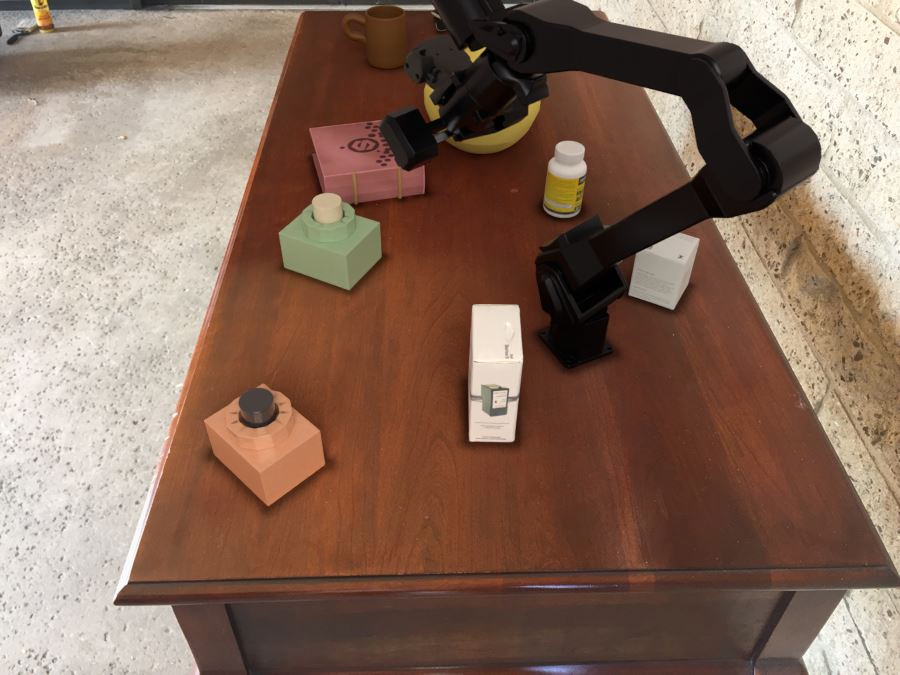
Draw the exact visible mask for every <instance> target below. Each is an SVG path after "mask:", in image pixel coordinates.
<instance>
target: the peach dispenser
mask: <svg viewBox="0 0 900 675" xmlns="http://www.w3.org/2000/svg"><path fill="white" fill-rule="evenodd" d="M255 388H264V389H267V390H269V391H270V392H271V393H272V394H273V397H274V402H275V407H276V413H277V414H276V417H275V419H274V421H273V422H272V423H270V424H269V425H267V426H265V427H261V428H252V427H249V426H247V425H246V424H245V423H244V422H243V420H242V416H241V412H240V408H239V404H238V402H239V398H240V397H241V395H240V396H238V397H237V398H235V399H233V400H232V401H231V403H229V404H228V405H226V406H224V407H223V408H221V409H220V410H218V411H216V412H215V413H213V414H211V415H209V416H208V417H207V418H205V419H204V420H203V422H204V426H205V429H206V433H207V435H208V439H209V443H210V445H211V446H210V447H211V450H212V452H213V455H214V456H215V457H216V458H217V459H218V460H219V461H220V462H221V463H222V464H223V465H224V466H225V467H226V468H227V469H228V470H230V471H231V473H232V474H234V475H235V477H237V478H238V479H239V480H240V481H241V482H242V483H243V484H244V485H245V486H246V487H247V488H248V489H249V490H250V491H251V492H253V494H255V496H256V497H257V498H259V500H261V502H263V503H264V504H265V505H266V506H267V507H270V506H271V505H272V504H274V503H275V502H276V501H278V500H279V499H280V498H282V497H284V495H286V494H287V493H289V492H290V491H292V490H293V489H294V488H295V487H297V486H299V484H301V483H302V482H304V481H305V480H307V479H308V478H309V477H310V476H312V475H313V474H315V473H316V472H318V470H320V469H321V468H323V467H324V466H325V465H326V459H325V453H324V447H323V446H324V445H323V441H322V433H321V430H320V429H319V428H318V427H317V426H315V425H314V424H313V423H312V422H311V421H309V420H308V419H307V417H304V416H303V415H302V414H301V413H300V412H299V411H297V410H296V409H295V408H294V407H292V403H291V399H289V398H288V397H287V396H286V395H285V394H283V392H281V391H278V390H272V389H271V388H270V387H269V386H268V385H266V384H265V383H260V384H259V385H258V386H256V387H255Z"/></svg>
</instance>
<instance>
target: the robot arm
mask: <svg viewBox="0 0 900 675" xmlns="http://www.w3.org/2000/svg"><path fill="white" fill-rule="evenodd" d="M430 3H431V4H432V6H433V8H434V10H436V11H437V13H438V15H439V17H440V19H441V20H442V22H443V24H444V26H445V27H446V29H447V30H446V32H447V33H448V34H449V35H447V34H439V35H435V36H433V37H430V38H427V39H425V40H421V41H419V42H418V43H417V45H416V46H413V47H411V49H410V52H407V54H406V60H405V63H404V65H403V70H404V73H405V74H406V75H407V76H408V77H409V78H410V79H411V80H412V81H413V83H415V84H416V85H420V84H424V83H425V85H426V84H427V85H428V86H429V87H430V88H432V89H433V90H434V91H433V92H432V93H431V94H430V96H429V97H430V99H431V101H432V102H433V104H434V105H435V106H436V105H438V106H439V109H438V111H439V116H440V118H438V119H436V120H433V121H431V120H430V121H428V122H426V120H425V119H424V117H423V115H422V113H421V111H420V110H419V108H418V107H415V106H414V105H411V104H410V105H407V106H405V107H402V108H400V109H396V110H395V111H394V110H393V111H391V112H389V113H386V114H385V116H384V117H383V118H382V119H381V120H382V121H381V122H380V125H379V130H380V132H381V134H382V135H383V137H384V139H385V140H386V142H387V144H388V146H389V147H390V149H391V151H392V153H393V154H394V156H395V157H394V160H395V162H396V163H397V165H398V166H399V167H401V168H402V169H403V170H405V171H408V172H409V171H412V170H414V169H417V168H419V167H421V166H423V165H424V166H425V165H428V164H430V163H432V161H433V160H435V159H436V158H437V157H438V156H439V143H441V142H444V141H446V139H449V138H451V137H452V138H453V139H454V141H455V142H458V141H459V142H462V141H464V140H467V139H472V138H476V137H480V136H485V135H489V134H494V133H497V132H499V131H502V130H504V129H506V128H508V127H510V126H512V125H515V124H517V123H519V122H521V121H522V120H523V119H524V118H525V117H526V116H528V109H529V105H531V104H533V103H535V102H538V101H540V100H541V101H543V100H545V99H547V98H548V97H549V96H550V86H549V84H548V75H549V74H558V73H566V72H582V73H584V74H589V75H593V76H596V77H601V78H605V79H610V80H613V81H617V82H621V83H625V84H628V85H632V86H636V87H640V88H645V89H649V90H652V91H656V92H660V93H664V94H668V95H672V96H675V97H679V98H681V99H682V101H683V103H684V104H685V106H686V107H687V110H688V111H689V113H690V117H691V122H692V128H693V133H694V138H695V143H696V149H697V151H698V153H699V155H700V156H701V158H702V160H703V161H704V163H705V164H704V165H703V166H702V167H701V168H700V169H699V170H698V171H697V172H696V174H694V176H693V177H692V178H691V180H689V181H688V182H686V183H684V184H682V185H681V186H679V187H677V188H675V189H673V190H671V191H670V192H667V193H666V194H664V195H662V196H660V197H659V198H657V199H655V200H653V201H651V202H650V203H648V204H646V205H644V206H642V207H641V208H639V209H637V210H635V211H634V212H632V213H629V214H628V215H626V216H625V217H623V218H621V219H619V220H617V221H615V222H614V223H611V224H603V222H602V220H601V217H600V214H599V213H596V214H594V215H592V216H591V217H588V218H587V219H585V220H583V221H582V222H580V223H578V224H576V225H574V226H573V227H571V228H569V229H567V230H566V231H563V232H562V233H560V234H559V235H557V236H555V237H554V238H552V239H550V240H547V241H546V242H545V243H543V244H542V245H540V246H538V249H539V250H540V252H541V253H539V254H537V255H536V257H535V259H534V265H535V282H536V286H537V290H538V296H539V301H540V307H541V310H542V311H543V312H544V313H546V314H547V315H548V316H549V317H550V322H549V326H550V327H548V328H545V329H542V330H540V331H539V332H538V338H539V339H540V341H542V342H543V343H544V345H545V346H546V347H547V348H548V349H549V350H550V352H551V353H552V354H553V355H554V356H555V357H556V358H557V360H558V361H559V362H560V363H561V364H562V366H563V367H564V368H565V369H573V368H576V367H579V366H581V365H584V364H587V363H589V362H592V361H595V360H598V359H601V358H603V357H607V356H610V355H611V354H613V353H614V347H613V346H612V345H611V344H610V343H609V341H607V339H606V337H607V331H608V328H609V322H610V318H611V315H610V314H609V312H608V309H609V306H610V305H611V304H613V303H614V302H616V301H618V300H621V299H622V298H623V297H624V296H625V294H626V293H627V291H629V288H630V285H629V283H628V282H627V280H626V278H625V276H624V274H623V272H622V270H621V268H620V266H619V265H620V264H621V263H622V262H623V261H624V260H626V259H628V258H630V257H632V256H634V255H636V253H638V252H640V251H642V250H645V249H647V248H649V247H651V246H653V245H655V244H657V243H659V242H661V241H663V240H665V239H667V238H669V237H671V236H673V235H676V234H678V233H682V232H684V231H686V230H688V229H691V228H692V227H694V226H697V225H698V224H700V223H702V222H704V221H706V220H710V219H731V218H736V217H740V216H744V215H750V214H753V213H757V212H760V211H763V210H765V209H767V208H769V207H770V206H771V205H773V204H774V203H775V202H777V201H778V200H780V199H781V198H783V197H784V196H786V195H788V194H789V193H790V192H792V191H793V190H795V189H796V188H798V187H799V186H800V185H802V184H804V183H805V182H807V181H808V180H810V179H811V178H812V177H814V176H815V175H816V173H817V172H818V171H819V170H820V165H821V161H822V156H823V154H822V144H821V141H820V139H819V136H818V135H817V133H816V132H815V130H814V129H813V128H812V127H811V126H810V125H809V124H807V123H806V122H805V121H804V120H803V118H802V117H801V115H800V113H799V112H798V110H797V109H796V108H795V106H794V104H793V102H792V101H791V99H790V98H789V97H788V95H786V93H785V92H784V91H783V90H781V89H780V88H778V86H776V85H775V84H774V83H772V82H771V81H770V80H768V78H766V77H765V76H764V75H763V74H761V73H760V72H759V71H758V70H757V69H756V67H755V66H754V64H753V63H752V61H751V60H750V58H749V56H748V54H747V53H746V52H745V50H744V49H743V48H742V47H741V46H740V45H738V44H735V43H733V42H729V41H717V42H713V41H709V40H704V39H698V38H693V37H689V36H683V35H679V34H673V33H668V32H663V31H658V30H653V29H647V28H643V27H637V26H633V25H628V24H623V23H618V22H612V21H608V20H605V19H602V18H600V17H598V16H597V15H596V14H595V12H593V11H592V9H591V8H590V7H589V6H588V5H585V4H583V3H582V2H581V3H580V2H579V1H576V0H537V1H534V2H527V1H525V2H521V3H520V2H519V3H518V4H514V5H512V6H509V7H506V6H505V4H504V2H503V1H502V0H430ZM468 47H469V49H470V51H471V52H475V51H478V50H480V49H482V48H484V47H486V49H485V50H484V51H483V52H482V53H481V54H480V55H479V57H478V58H477V59H476V60H475V61H474V62H472V61H471V60H470V56H469V55H468V54H467V53H466V52H465V51H464V50H465V49H466V48H468ZM732 107H733V108H734V109H735V110H737V111H738V112H739V113H741V114H742V115H743V116H744V117H745V118H747V119H748V120H749V121H750V122H751V123H752V125H753V126H754V127H755V129H753V130H752V131H750V132H748V133H747V134H746V135H743V136H742V137H741V135H740V133H739V131H738V130H737V129H736V126H735V122H734V117H733V111H732ZM446 128H447V130H446ZM444 129H445V130H444ZM442 130H444V131H442ZM439 131H442V132H439Z"/></svg>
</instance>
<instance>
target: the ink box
mask: <svg viewBox="0 0 900 675" xmlns="http://www.w3.org/2000/svg"><path fill="white" fill-rule="evenodd" d="M469 334H470V336H469V352H468V353H469V355H468V358H469V359H468V374H467V376H468V377H467V391H468V392H467V394H468V395H467V398H468V403H467V404H468V441H469V442H471V443H472V442H473V443H474V442H481V443H483V442H484V443H513V442H514V441H515V440H516V439H515V438H516V427H517V418H518V409H519V400H520V390H521V383H522V375H523V374H522V372H523V364H524V352H523V340H522V326H521V309H520V306H519V304H496V303H495V304H494V303H493V304H492V303H489V304H487V303H485V304H484V303H483V304H478V303H477V304H473V305H472V306H471V320H470V333H469Z"/></svg>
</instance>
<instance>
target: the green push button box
mask: <svg viewBox="0 0 900 675" xmlns="http://www.w3.org/2000/svg"><path fill="white" fill-rule="evenodd" d="M342 210H343V218H342V220H340V221H338V222H335V223H332V224H322V223H319V222H316V221H315V219H314V214H313V206H312V203H310V204H309V205H308V206H306V208H304V209H303V210H302V212H301V213H300V214H299V215H298V216H296V217H295V218H294V219H293V220H292V221H290V223H289V224H287V225H286V226H284V228H282V229H281V230H280V231H279V232H278V239H279V243H280V249H281V255H282V262H283V268H285V269H287V270H290V271H292V272H295V273H298V274H302V275H304V276H307V277H310V278H313V279H315V280H319V281H321V282H324V283H327V284H330V285H333V286H336V287H339V288H341V289H344V290H346V291H351V289H352V288H353V287H354V286H355V285H356V284H357V283H358V282H359V281H360V280H361V279H362V278H363V277H364V276H365V275H366V274H367V273H368V272H369V271H370V270H371V269H372V268H373V267H374V266H375V265H376V263H377V262H378V261H379V260H380V259H382V257H383V256H382V252H383V251H382V237H381V236H382V235H381V222H379V221H377V220H373V219H370V218H366V217H364V216H361V215H357V214H356V210H355V209H354V208H353V207H352V205H350V204H348V203H345V202H342Z"/></svg>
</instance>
